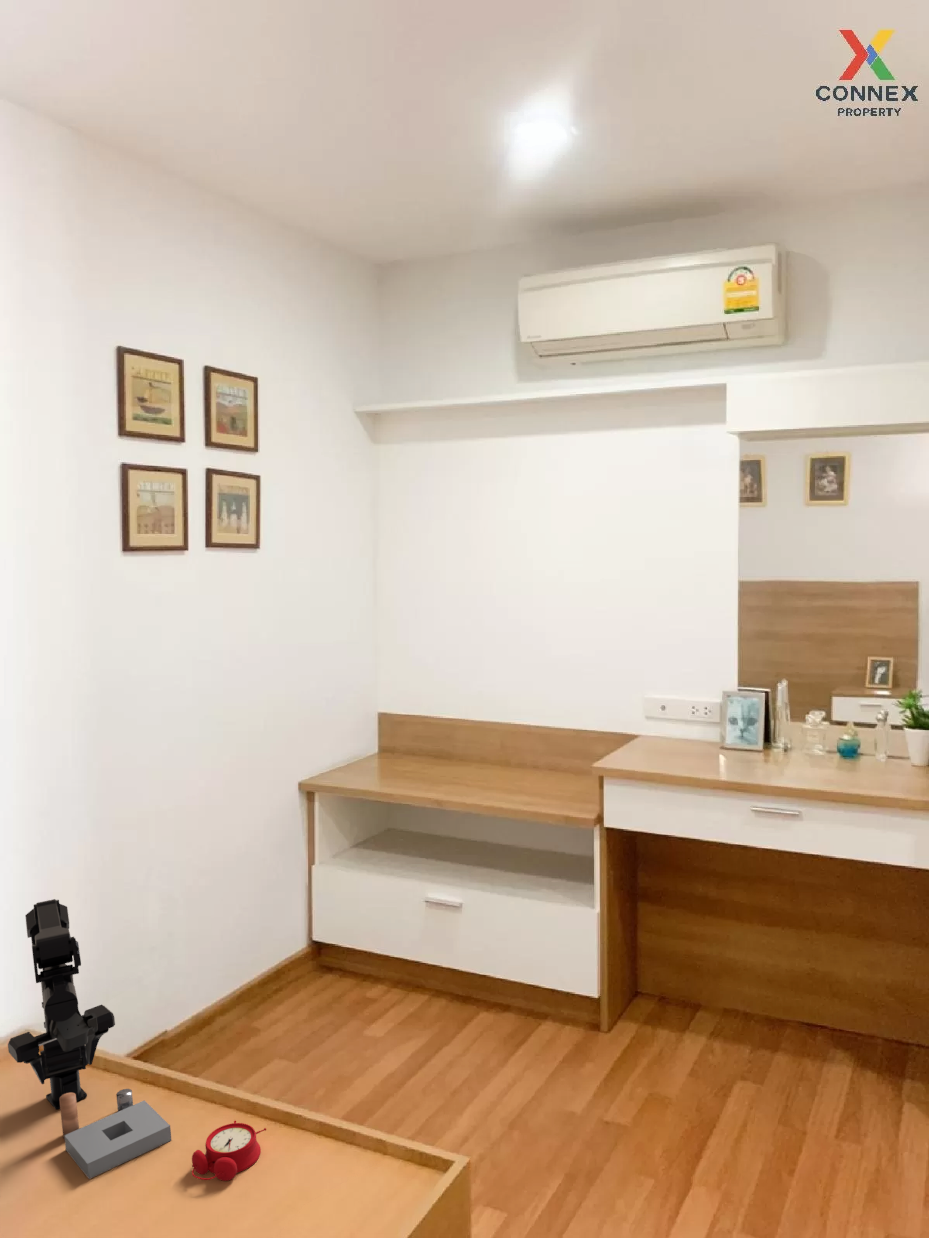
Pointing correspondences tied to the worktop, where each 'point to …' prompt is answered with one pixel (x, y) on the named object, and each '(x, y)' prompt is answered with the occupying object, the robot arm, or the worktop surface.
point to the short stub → (124, 1099)
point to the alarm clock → (227, 1151)
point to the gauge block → (117, 1138)
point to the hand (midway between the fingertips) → (66, 1073)
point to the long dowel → (69, 1113)
